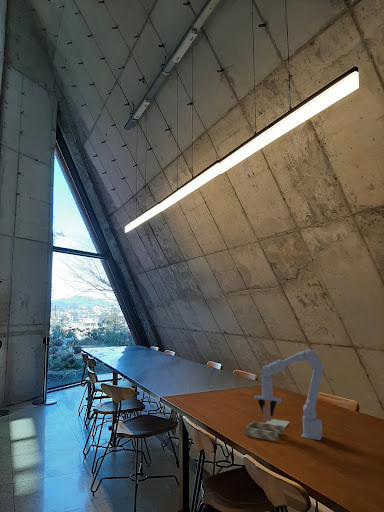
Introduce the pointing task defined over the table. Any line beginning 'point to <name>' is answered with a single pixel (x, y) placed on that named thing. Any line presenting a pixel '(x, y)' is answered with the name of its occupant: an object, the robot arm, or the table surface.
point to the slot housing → (264, 430)
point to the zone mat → (278, 422)
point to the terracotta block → (267, 413)
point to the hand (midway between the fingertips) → (267, 415)
